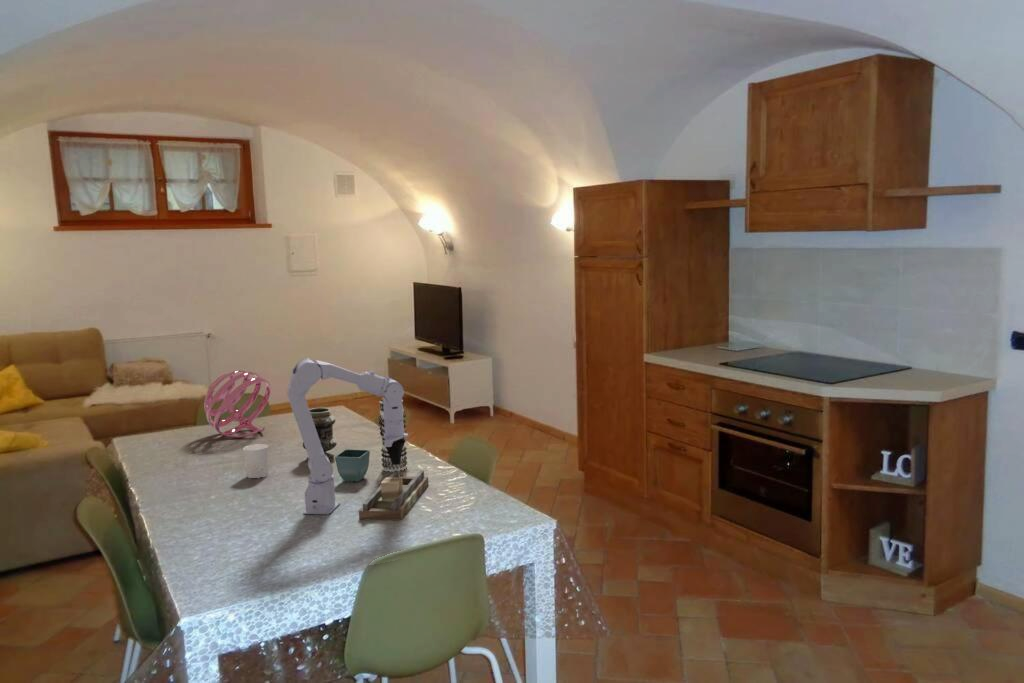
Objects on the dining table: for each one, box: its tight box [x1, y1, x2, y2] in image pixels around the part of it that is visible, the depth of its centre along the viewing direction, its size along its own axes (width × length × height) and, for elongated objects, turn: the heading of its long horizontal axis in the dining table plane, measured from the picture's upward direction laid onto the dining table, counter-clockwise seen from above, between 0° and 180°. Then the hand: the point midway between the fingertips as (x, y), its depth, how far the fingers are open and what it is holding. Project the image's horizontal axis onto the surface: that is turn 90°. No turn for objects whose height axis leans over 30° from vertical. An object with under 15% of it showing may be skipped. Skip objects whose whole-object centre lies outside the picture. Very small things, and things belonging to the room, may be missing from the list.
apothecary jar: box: [302, 407, 338, 461], centre depth 279 cm, size 12×12×18 cm
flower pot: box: [334, 448, 371, 483], centre depth 253 cm, size 9×9×9 cm
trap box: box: [358, 470, 429, 521], centre depth 231 cm, size 32×12×4 cm, turn 172°
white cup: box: [242, 443, 269, 479], centre depth 261 cm, size 8×8×10 cm
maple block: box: [380, 476, 403, 499], centre depth 227 cm, size 5×5×5 cm
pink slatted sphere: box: [203, 369, 272, 439], centre depth 318 cm, size 28×28×27 cm
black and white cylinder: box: [378, 397, 408, 473], centre depth 263 cm, size 9×9×25 cm
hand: (396, 464), depth 233 cm, fingers closed
